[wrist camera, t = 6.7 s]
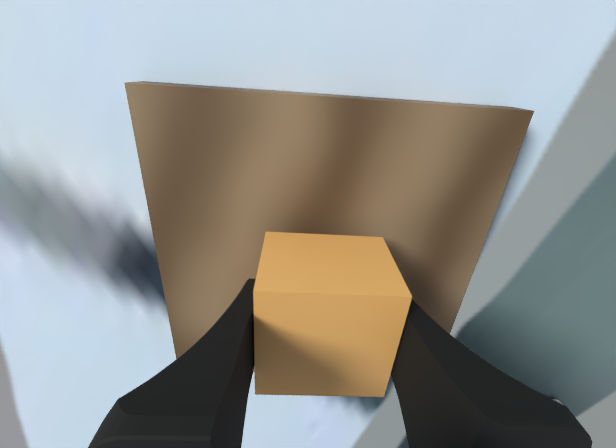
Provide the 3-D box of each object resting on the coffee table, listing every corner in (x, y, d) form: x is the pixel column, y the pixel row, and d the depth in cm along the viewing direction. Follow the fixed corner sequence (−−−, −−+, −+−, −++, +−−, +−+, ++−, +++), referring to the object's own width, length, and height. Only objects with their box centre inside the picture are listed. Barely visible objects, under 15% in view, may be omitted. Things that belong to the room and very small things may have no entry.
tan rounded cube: (382, 237, 14) (412, 296, 10) (365, 323, 16) (384, 396, 12) (265, 231, 13) (253, 291, 10) (265, 320, 16) (255, 394, 12)
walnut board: (510, 107, 14) (594, 121, 10) (425, 356, 21) (453, 421, 17) (142, 81, 13) (75, 85, 9) (186, 349, 20) (159, 416, 16)
